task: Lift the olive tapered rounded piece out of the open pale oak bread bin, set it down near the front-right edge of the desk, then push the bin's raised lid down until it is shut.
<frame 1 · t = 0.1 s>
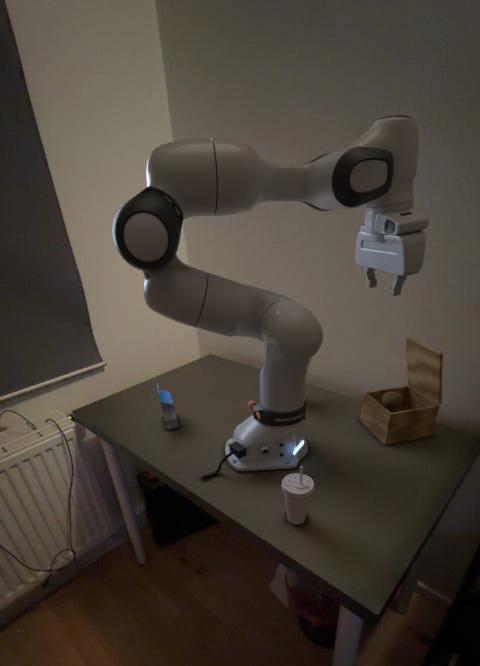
hand: (382, 290, 78), 39 cm above the table, tool pointing down, fingers open, 8 cm apart
smoothie: (296, 518, 74), on the table
olive tapered rounded piece: (386, 428, 100), resting on bread bin
bread bin: (393, 428, 101), on the table
cordless phone: (170, 422, 110), on the table
bin lid: (423, 370, 92), point 17 cm above the table, hinge at 75.0°
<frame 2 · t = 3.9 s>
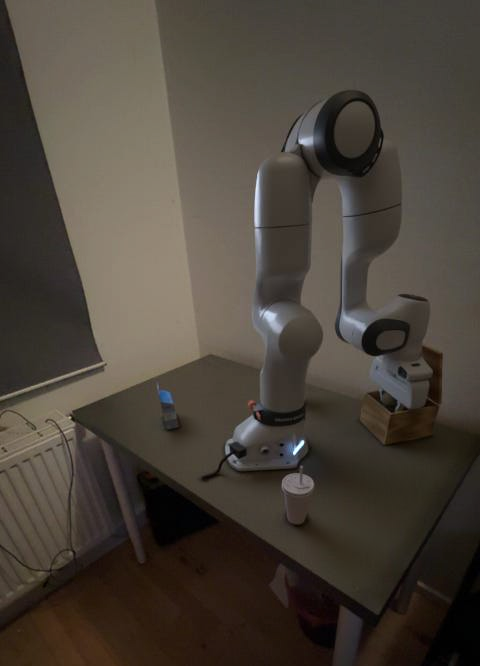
hand: (390, 408, 96), 7 cm above the table, tool pointing down, fingers closed on olive tapered rounded piece, 5 cm apart
olive tapered rounded piece: (386, 428, 100), resting on bread bin, touching gripper
everything else where it was.
when the fingers open (6 cm above the table, at t = 13.4 s): olive tapered rounded piece stays where it is, on the table.
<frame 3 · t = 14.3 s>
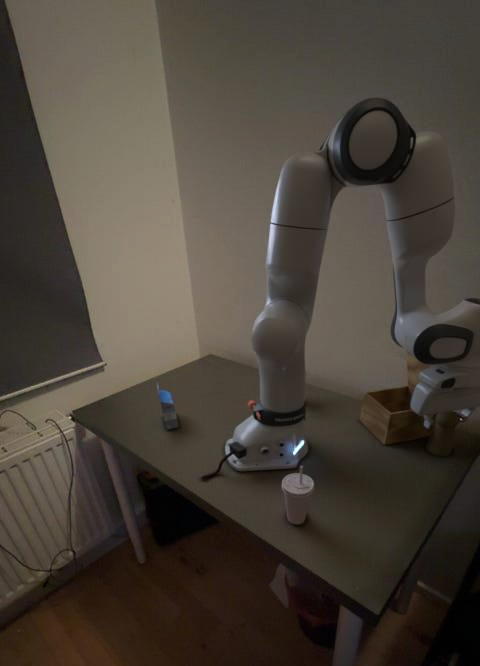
hand: (444, 423, 87), 8 cm above the table, tool pointing down, fingers open, 8 cm apart
olive tapered rounded piece: (438, 449, 91), on the table
everything else where it was.
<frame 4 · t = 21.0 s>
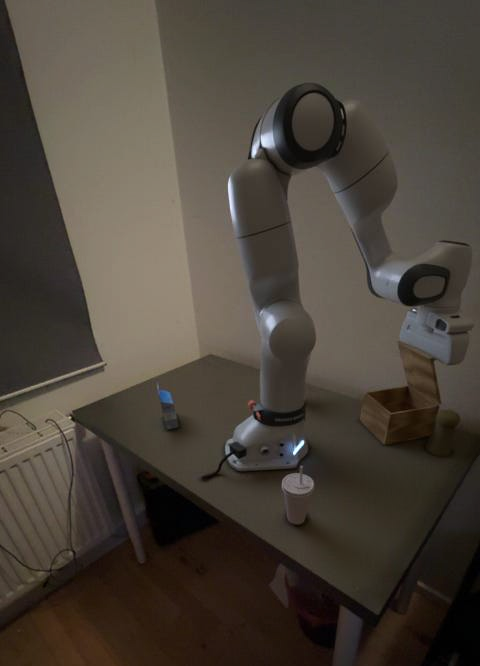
hand: (423, 368, 92), 18 cm above the table, tool pointing down, fingers closed, pressing on bin lid
bin lid: (419, 372, 92), point 17 cm above the table, hinge at 65.2°, touching gripper
everything else where it was.
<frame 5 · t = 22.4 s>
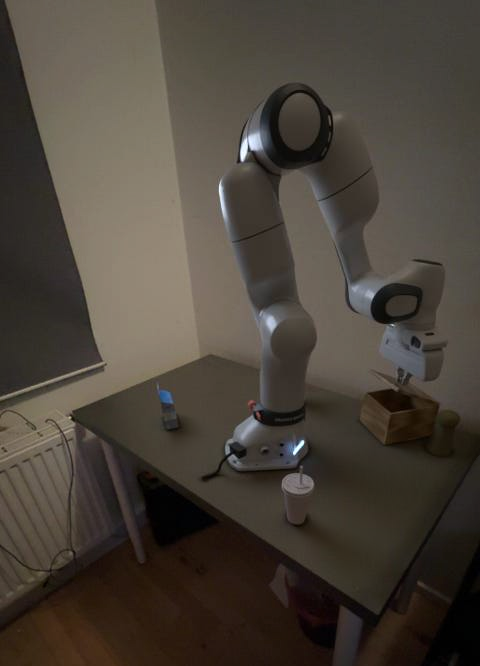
hand: (401, 383, 93), 14 cm above the table, tool pointing down, fingers closed, pressing on bin lid
bin lid: (403, 387, 94), point 13 cm above the table, hinge at 24.4°, touching gripper
everything else where it was.
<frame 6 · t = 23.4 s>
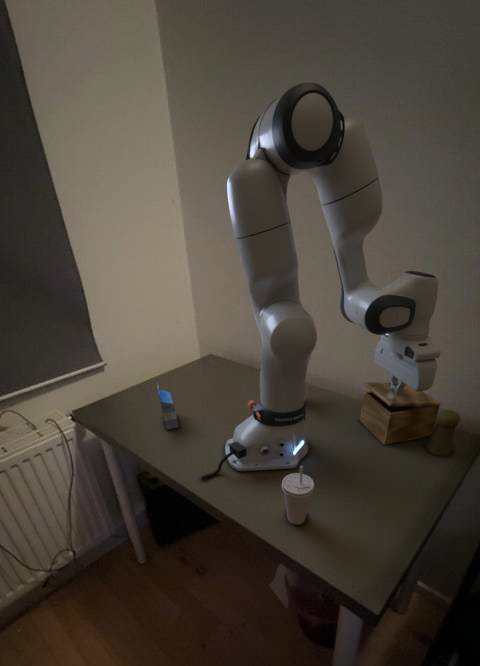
hand: (396, 391, 94), 12 cm above the table, tool pointing down, fingers closed
bin lid: (400, 393, 95), point 11 cm above the table, hinge at 9.0°
everything else where it was.
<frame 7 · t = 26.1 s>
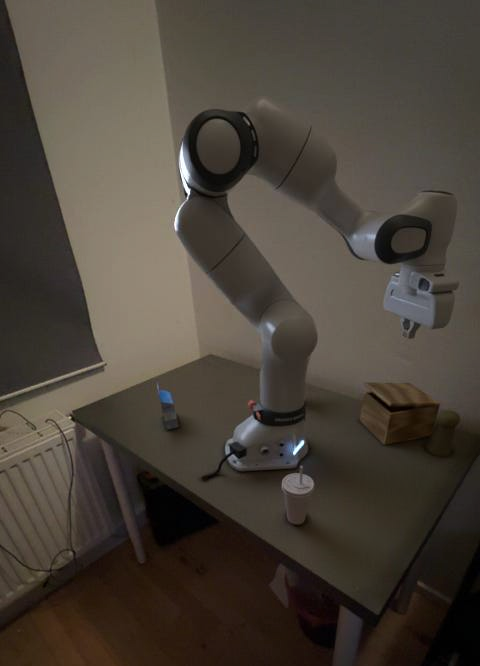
hand: (407, 336, 86), 27 cm above the table, tool pointing down, fingers closed
nothing on the table moved.
at the end: olive tapered rounded piece inside the target area (1.5 cm from its centre), on the table; olive tapered rounded piece tilted 0°; bin lid at +9° (first picture: +75°) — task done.
